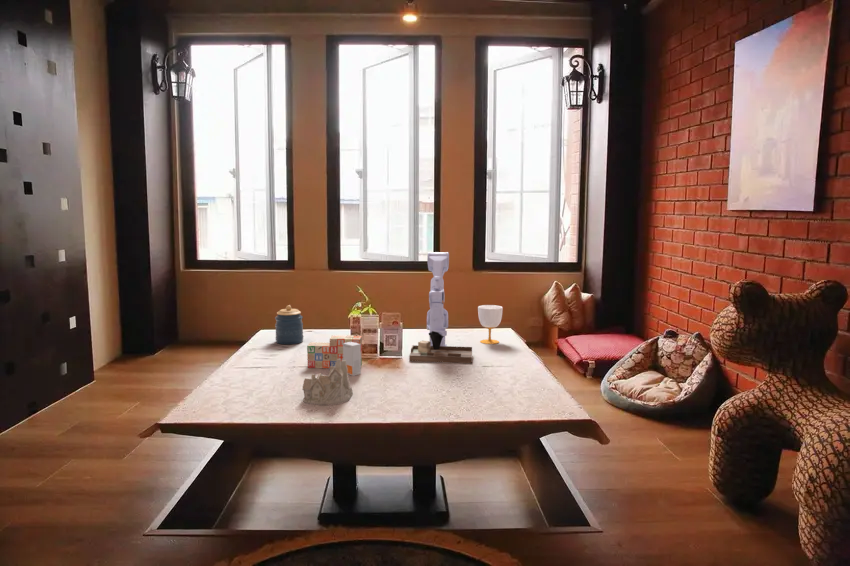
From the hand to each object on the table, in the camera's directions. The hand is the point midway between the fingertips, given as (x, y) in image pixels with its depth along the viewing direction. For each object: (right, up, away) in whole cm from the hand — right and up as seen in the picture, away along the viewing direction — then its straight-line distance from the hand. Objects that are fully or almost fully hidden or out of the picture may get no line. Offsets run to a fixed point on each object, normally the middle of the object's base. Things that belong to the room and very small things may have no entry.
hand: (436, 349), depth 262 cm
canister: (-69, 0, +28) cm, 75 cm away
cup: (+26, 0, +29) cm, 39 cm away
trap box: (+2, -4, -2) cm, 5 cm away
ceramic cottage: (-38, -11, -54) cm, 67 cm away
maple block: (-5, -1, +1) cm, 5 cm away
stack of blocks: (-41, -6, -15) cm, 44 cm away
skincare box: (-33, -7, -25) cm, 42 cm away
